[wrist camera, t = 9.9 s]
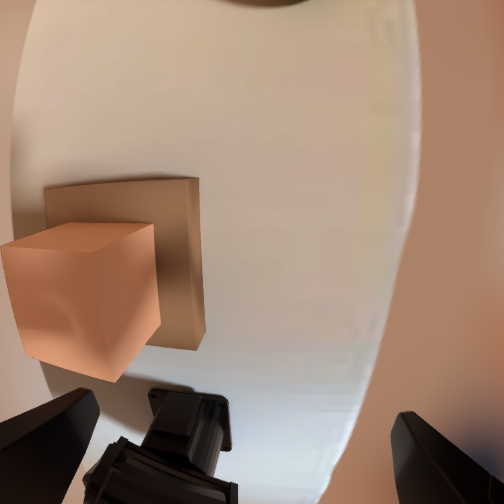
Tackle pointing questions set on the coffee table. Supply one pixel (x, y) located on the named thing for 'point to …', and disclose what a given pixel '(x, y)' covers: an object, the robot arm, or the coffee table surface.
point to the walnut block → (165, 240)
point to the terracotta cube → (84, 294)
